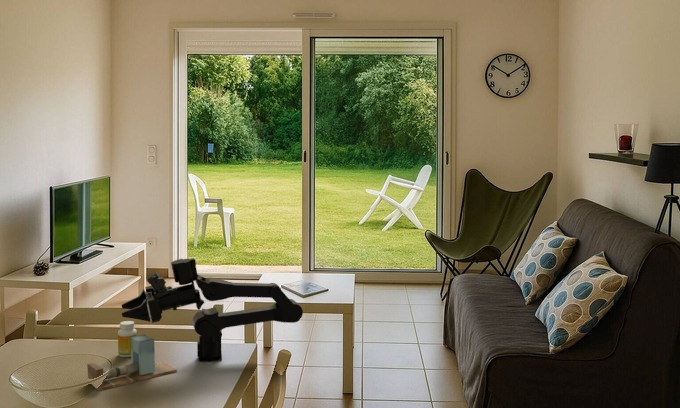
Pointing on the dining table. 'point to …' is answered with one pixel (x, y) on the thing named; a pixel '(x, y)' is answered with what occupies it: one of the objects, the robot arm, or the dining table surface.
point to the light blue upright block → (143, 353)
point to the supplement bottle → (125, 338)
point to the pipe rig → (125, 374)
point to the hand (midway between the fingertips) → (121, 310)
